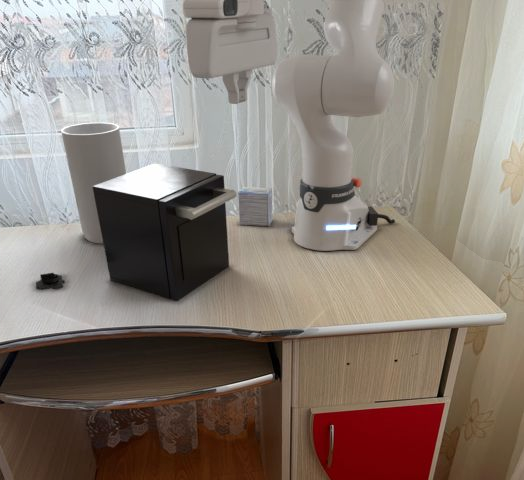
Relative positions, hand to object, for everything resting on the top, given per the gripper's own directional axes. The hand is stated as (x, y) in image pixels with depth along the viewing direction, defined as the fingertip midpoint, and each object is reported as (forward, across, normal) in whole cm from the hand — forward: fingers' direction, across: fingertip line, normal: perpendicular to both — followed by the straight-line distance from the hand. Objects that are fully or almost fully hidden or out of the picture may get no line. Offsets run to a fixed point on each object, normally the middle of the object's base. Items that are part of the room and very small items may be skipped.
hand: (238, 102), depth 88 cm
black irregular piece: (+35, +17, -37) cm, 54 cm away
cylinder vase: (+35, -9, -46) cm, 59 cm away
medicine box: (+35, -34, -18) cm, 52 cm away
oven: (+35, +1, -19) cm, 40 cm away
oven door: (+35, +1, -8) cm, 36 cm away
